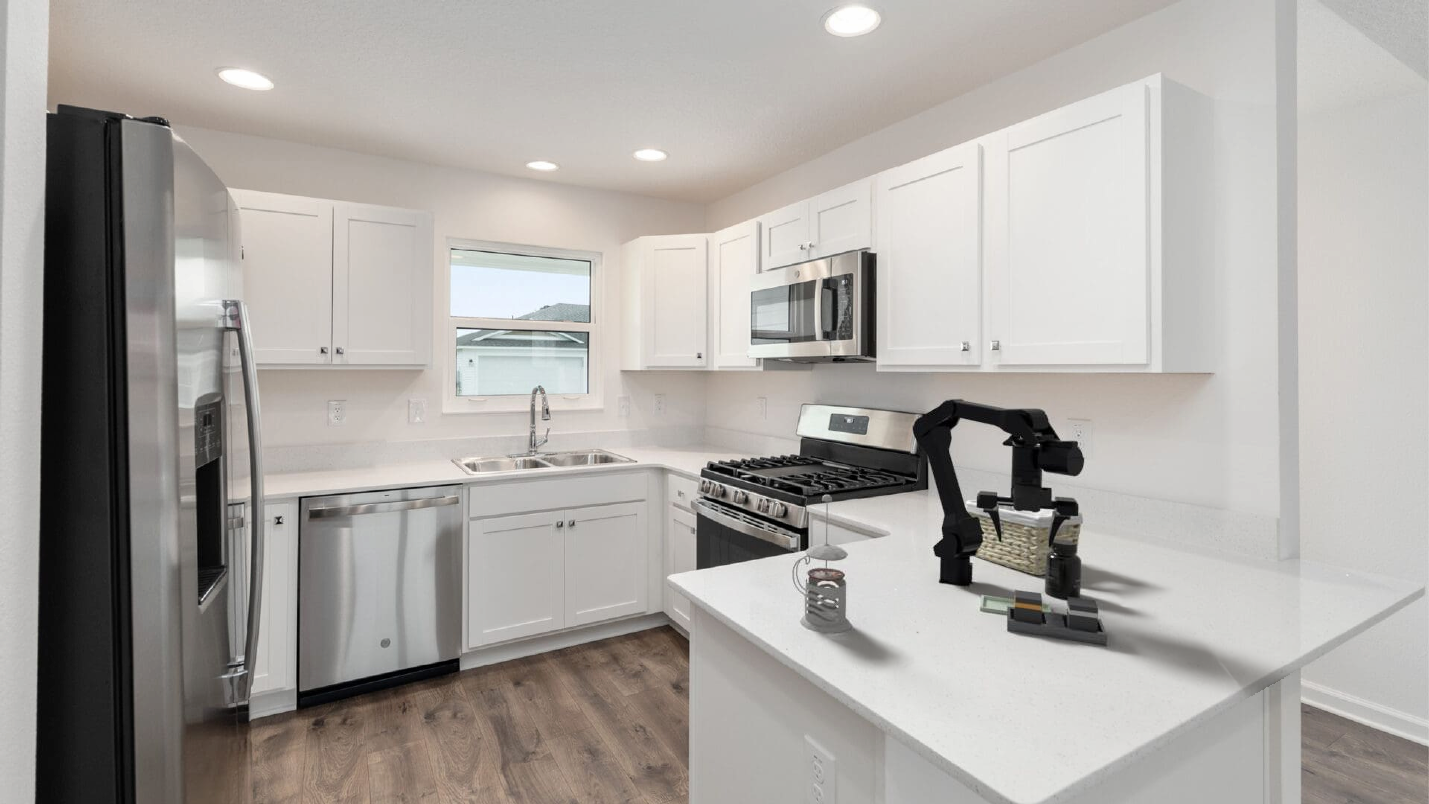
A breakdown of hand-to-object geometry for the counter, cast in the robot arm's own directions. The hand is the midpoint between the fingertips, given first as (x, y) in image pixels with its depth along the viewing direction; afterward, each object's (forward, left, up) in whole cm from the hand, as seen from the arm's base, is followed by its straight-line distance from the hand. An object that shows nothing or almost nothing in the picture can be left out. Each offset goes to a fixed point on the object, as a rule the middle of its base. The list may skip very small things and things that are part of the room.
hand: (1024, 544), depth 135 cm
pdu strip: (+5, -13, -13) cm, 19 cm away
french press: (-36, -26, -13) cm, 46 cm away
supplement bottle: (+8, +10, -13) cm, 18 cm away
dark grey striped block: (0, -13, -12) cm, 18 cm away
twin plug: (+9, -13, -12) cm, 20 cm away
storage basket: (0, +35, -13) cm, 37 cm away
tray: (-2, -4, -13) cm, 14 cm away
